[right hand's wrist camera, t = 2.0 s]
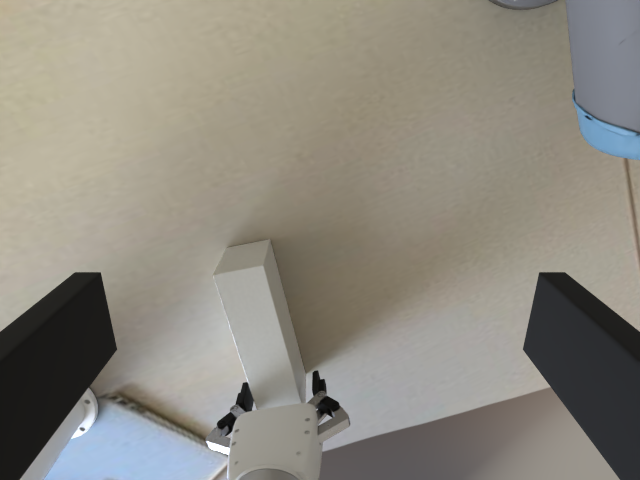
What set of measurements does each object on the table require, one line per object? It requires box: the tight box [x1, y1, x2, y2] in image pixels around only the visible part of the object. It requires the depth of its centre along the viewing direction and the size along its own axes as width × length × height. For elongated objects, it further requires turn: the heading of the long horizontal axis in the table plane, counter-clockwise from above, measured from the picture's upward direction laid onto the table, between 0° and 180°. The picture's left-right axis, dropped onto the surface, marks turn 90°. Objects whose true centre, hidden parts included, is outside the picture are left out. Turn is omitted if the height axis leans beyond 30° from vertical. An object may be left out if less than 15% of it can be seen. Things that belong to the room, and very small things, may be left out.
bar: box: [213, 239, 306, 410], centre depth 55 cm, size 22×6×8 cm, turn 11°
